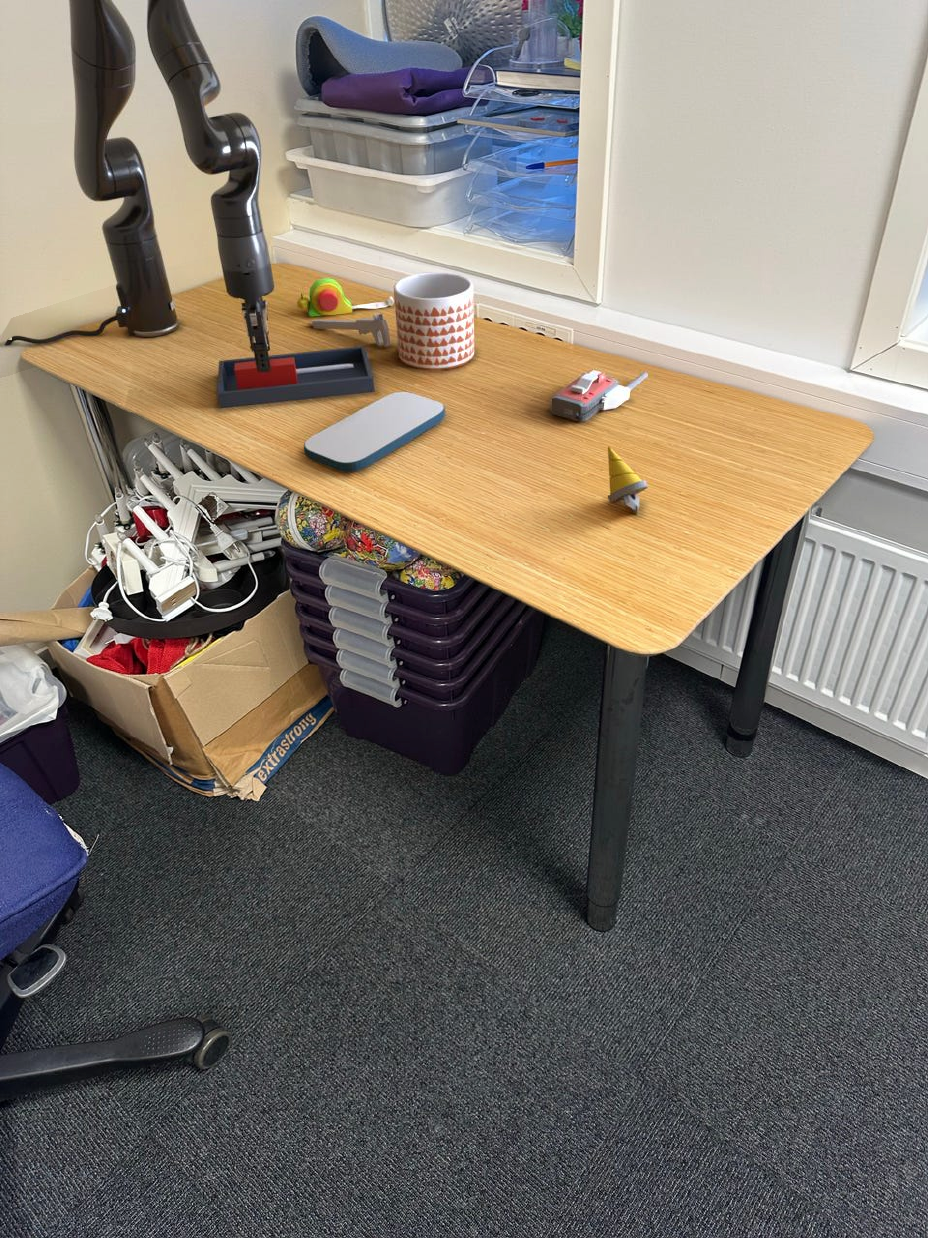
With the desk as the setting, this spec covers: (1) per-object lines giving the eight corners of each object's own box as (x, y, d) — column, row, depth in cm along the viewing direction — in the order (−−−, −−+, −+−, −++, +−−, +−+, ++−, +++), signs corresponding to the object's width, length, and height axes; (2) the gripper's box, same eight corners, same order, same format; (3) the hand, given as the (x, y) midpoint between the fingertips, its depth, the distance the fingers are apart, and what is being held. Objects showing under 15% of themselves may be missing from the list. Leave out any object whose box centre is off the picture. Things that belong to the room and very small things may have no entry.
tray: (220, 410, 143) (216, 394, 141) (222, 376, 153) (219, 360, 151) (375, 393, 146) (373, 377, 144) (366, 361, 157) (365, 345, 155)
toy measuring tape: (297, 310, 177) (292, 277, 173) (391, 299, 180) (388, 266, 176) (300, 321, 172) (295, 287, 168) (396, 310, 175) (394, 277, 171)
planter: (458, 375, 151) (456, 302, 143) (386, 366, 155) (380, 294, 146) (484, 345, 160) (483, 275, 152) (416, 337, 164) (412, 268, 156)
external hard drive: (351, 479, 125) (350, 467, 123) (296, 456, 130) (294, 444, 129) (453, 417, 139) (453, 405, 137) (399, 398, 144) (398, 387, 143)
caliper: (390, 347, 161) (388, 314, 157) (386, 349, 160) (383, 316, 156) (312, 325, 171) (307, 292, 167) (308, 326, 170) (303, 294, 166)
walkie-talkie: (592, 430, 134) (651, 383, 146) (594, 404, 131) (653, 358, 144) (543, 416, 138) (604, 371, 150) (544, 390, 135) (606, 346, 148)
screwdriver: (238, 392, 147) (234, 370, 145) (238, 385, 149) (234, 362, 147) (355, 380, 150) (352, 357, 147) (353, 372, 152) (351, 350, 149)
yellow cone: (612, 524, 115) (583, 455, 116) (627, 521, 120) (599, 454, 120) (647, 507, 112) (617, 436, 113) (661, 504, 117) (632, 437, 117)
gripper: (222, 250, 141) (242, 347, 151) (219, 278, 130) (241, 380, 140) (269, 245, 141) (285, 342, 152) (270, 273, 131) (288, 375, 141)
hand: (264, 360), depth 146 cm, fingers open, 8 cm apart
